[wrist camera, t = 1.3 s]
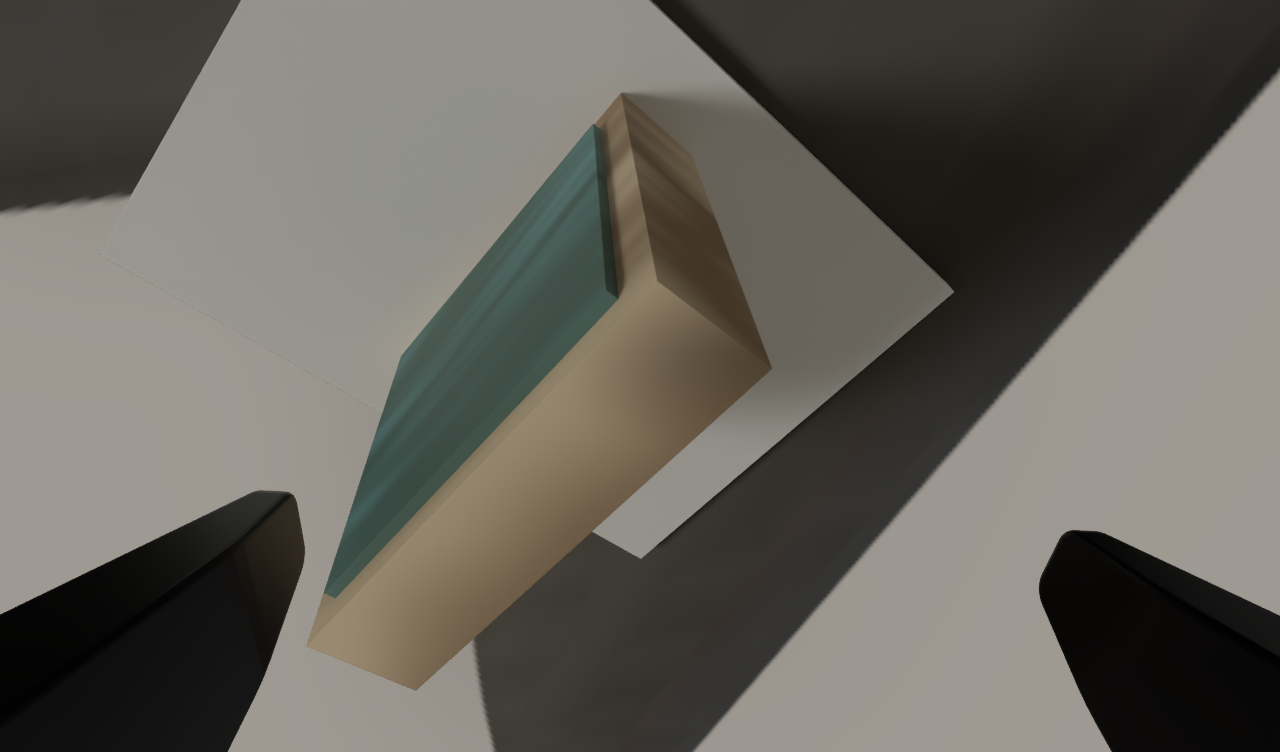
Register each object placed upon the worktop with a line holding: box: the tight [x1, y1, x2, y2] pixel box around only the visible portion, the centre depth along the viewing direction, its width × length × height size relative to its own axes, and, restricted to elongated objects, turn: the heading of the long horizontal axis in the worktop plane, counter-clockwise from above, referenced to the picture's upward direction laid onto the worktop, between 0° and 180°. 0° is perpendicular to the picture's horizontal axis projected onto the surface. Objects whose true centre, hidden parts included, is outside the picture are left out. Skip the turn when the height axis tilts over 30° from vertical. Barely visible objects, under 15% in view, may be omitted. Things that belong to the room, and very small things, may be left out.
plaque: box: [307, 93, 772, 690], centre depth 18 cm, size 3×10×10 cm, turn 139°
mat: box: [99, 0, 954, 559], centre depth 22 cm, size 19×14×1 cm
